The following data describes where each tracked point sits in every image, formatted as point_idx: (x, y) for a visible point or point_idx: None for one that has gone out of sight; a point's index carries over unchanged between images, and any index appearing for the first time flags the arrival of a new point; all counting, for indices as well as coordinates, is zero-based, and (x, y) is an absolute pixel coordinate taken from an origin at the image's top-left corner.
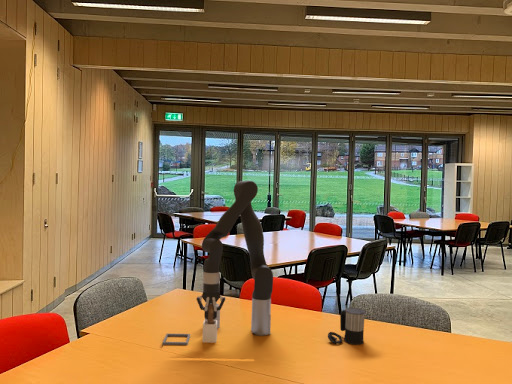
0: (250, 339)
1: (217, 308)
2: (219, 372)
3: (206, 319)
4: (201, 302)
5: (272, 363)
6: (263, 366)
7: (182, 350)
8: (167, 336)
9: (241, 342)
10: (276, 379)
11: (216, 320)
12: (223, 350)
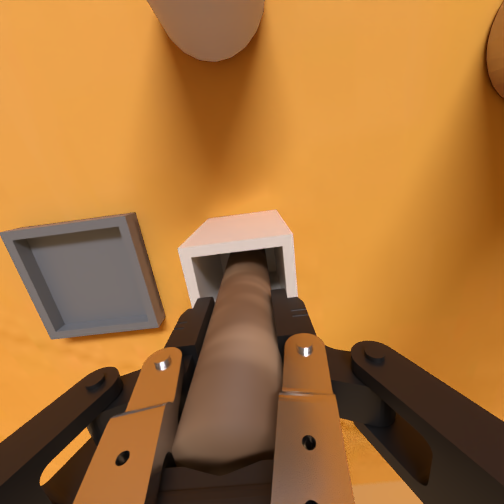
0: (457, 179)
1: (340, 407)
2: None
3: (151, 1)
4: (16, 495)
5: (496, 397)
6: None
7: (160, 349)
8: (25, 252)
9: (403, 230)
10: None
11: (286, 242)
12: (321, 327)
